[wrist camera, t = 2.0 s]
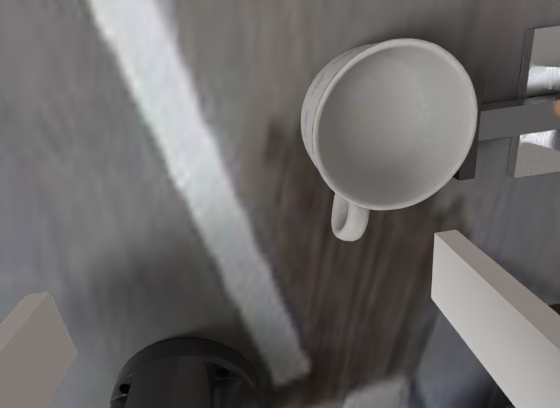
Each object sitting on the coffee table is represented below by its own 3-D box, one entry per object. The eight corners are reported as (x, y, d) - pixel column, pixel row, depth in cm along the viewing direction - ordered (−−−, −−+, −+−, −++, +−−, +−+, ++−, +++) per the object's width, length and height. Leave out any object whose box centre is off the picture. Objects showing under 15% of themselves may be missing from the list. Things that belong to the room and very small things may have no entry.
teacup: (337, 14, 27) (372, -1, 19) (450, 83, 29) (519, 94, 22) (255, 176, 31) (259, 215, 24) (360, 224, 34) (393, 272, 26)
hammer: (427, 161, 31) (462, 182, 26) (430, 77, 29) (470, 82, 24) (573, 140, 32) (635, 156, 27) (590, 54, 29) (662, 55, 24)
